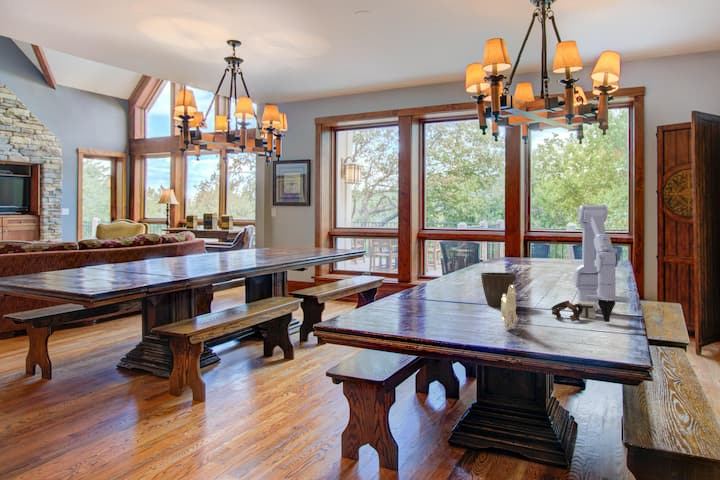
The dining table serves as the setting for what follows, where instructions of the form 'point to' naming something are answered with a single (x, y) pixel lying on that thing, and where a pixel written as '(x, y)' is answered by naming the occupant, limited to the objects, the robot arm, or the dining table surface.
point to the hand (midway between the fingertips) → (606, 321)
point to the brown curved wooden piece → (565, 304)
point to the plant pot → (496, 286)
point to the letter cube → (588, 309)
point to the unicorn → (509, 306)
